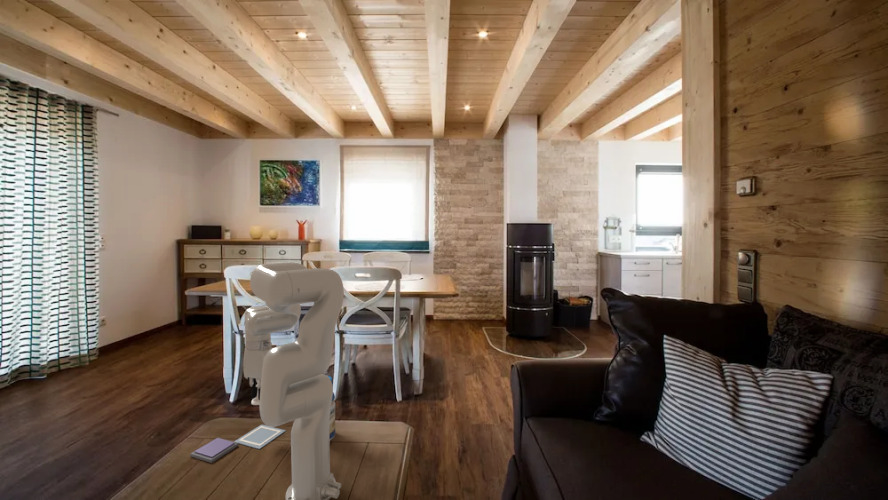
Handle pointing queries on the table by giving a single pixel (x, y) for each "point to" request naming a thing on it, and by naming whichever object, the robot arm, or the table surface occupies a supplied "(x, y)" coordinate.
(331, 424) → the beverage bottle
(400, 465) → the table surface
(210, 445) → the ink pad
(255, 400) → the chess piece
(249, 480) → the table surface
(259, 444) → the pale blue flat square
